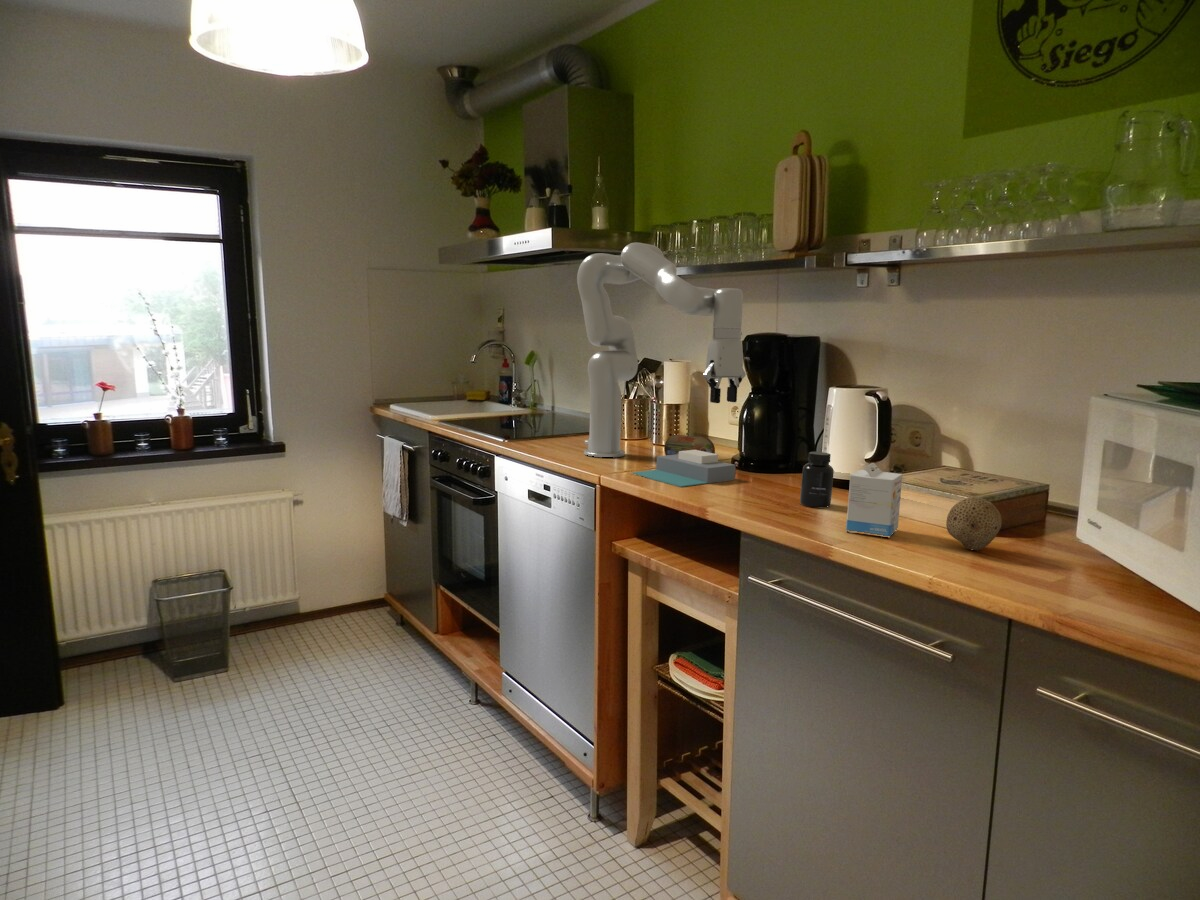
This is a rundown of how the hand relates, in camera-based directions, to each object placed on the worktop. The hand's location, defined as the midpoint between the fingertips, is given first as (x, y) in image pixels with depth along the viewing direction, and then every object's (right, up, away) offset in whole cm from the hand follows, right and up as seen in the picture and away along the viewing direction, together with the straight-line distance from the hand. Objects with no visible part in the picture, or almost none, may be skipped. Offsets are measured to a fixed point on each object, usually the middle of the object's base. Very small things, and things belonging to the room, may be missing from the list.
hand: (723, 401), depth 210 cm
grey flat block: (-8, -20, -2) cm, 22 cm away
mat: (-16, -21, -8) cm, 27 cm away
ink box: (+21, -30, -56) cm, 67 cm away
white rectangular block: (-7, -16, -2) cm, 18 cm away
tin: (-8, -17, +15) cm, 24 cm away
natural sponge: (+35, -32, -68) cm, 83 cm away
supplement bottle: (+15, -26, -34) cm, 46 cm away
